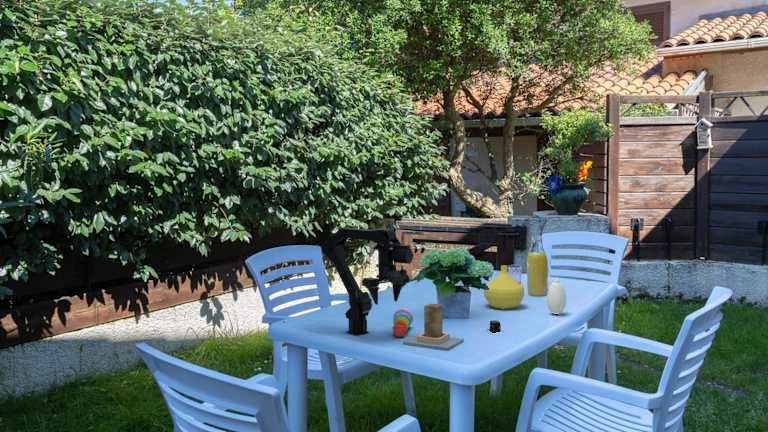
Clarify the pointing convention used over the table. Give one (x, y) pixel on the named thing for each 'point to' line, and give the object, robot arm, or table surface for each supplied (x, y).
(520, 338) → the table surface
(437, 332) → the walnut pillar
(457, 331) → the table surface
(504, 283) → the vase
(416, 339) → the grey board with frame
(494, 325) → the black block on base
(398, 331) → the stacking toy
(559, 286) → the sauce bottle
